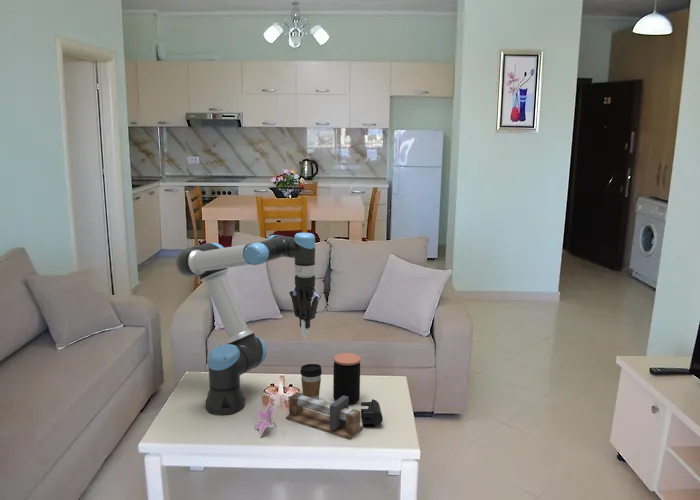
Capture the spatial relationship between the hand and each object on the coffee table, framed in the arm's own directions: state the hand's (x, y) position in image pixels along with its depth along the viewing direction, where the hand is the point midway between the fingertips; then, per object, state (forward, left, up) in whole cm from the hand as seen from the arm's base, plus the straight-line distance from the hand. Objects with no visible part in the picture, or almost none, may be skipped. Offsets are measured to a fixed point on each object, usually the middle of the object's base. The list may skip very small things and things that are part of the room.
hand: (304, 335), depth 226 cm
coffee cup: (-2, +7, -31) cm, 31 cm away
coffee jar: (+9, +16, -31) cm, 36 cm away
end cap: (+26, +6, -31) cm, 41 cm away
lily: (-3, -20, -31) cm, 37 cm away
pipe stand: (+12, -5, -30) cm, 33 cm away
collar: (+19, -5, -28) cm, 34 cm away
